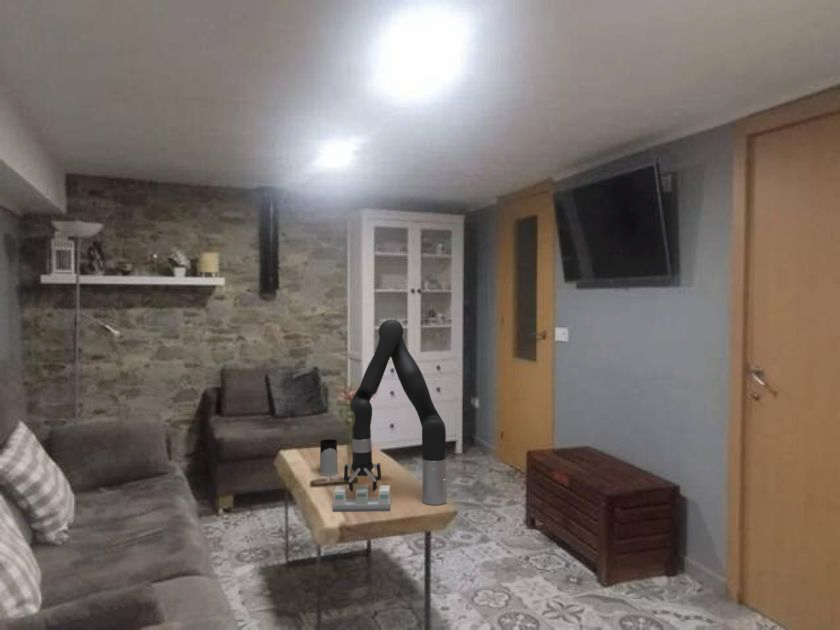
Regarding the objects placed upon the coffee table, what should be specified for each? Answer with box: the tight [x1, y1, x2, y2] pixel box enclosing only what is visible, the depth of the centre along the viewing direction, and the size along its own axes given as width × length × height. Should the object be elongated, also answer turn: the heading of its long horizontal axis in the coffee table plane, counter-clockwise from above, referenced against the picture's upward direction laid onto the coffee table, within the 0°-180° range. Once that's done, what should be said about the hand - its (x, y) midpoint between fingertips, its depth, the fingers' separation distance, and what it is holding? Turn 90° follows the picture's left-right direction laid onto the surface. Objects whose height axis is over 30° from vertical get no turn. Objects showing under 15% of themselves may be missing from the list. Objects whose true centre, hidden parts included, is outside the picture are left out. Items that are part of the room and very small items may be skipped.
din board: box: [332, 484, 392, 513], centre depth 231 cm, size 22×12×7 cm, turn 91°
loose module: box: [355, 485, 370, 504], centre depth 231 cm, size 4×7×5 cm, turn 1°
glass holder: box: [318, 438, 339, 477], centre depth 277 cm, size 9×14×15 cm, turn 16°
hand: (363, 490), depth 231 cm, fingers open, 8 cm apart
